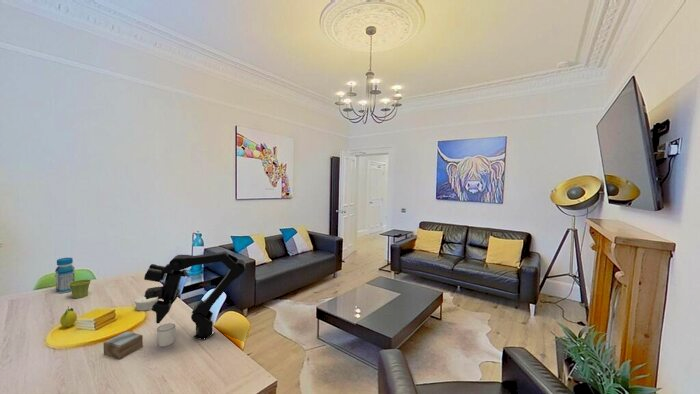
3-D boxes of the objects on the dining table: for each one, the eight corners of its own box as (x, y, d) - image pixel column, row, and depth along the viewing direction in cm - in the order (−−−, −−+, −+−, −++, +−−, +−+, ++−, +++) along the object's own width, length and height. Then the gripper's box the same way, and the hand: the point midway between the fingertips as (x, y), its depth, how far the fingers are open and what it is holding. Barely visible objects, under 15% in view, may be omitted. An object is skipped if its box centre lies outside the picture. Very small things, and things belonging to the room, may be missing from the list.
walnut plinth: (142, 346, 117) (142, 334, 117) (119, 359, 108) (119, 346, 108) (127, 342, 119) (127, 330, 119) (103, 354, 111) (103, 341, 110)
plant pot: (93, 295, 163) (93, 281, 162) (71, 301, 155) (71, 286, 154) (88, 291, 168) (88, 278, 167) (66, 297, 160) (66, 282, 159)
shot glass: (166, 348, 116) (166, 332, 116) (152, 345, 118) (152, 330, 117) (179, 339, 123) (179, 324, 123) (166, 337, 124) (166, 322, 124)
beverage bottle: (65, 293, 164) (64, 261, 163) (51, 293, 164) (50, 260, 163) (79, 288, 172) (78, 257, 171) (66, 287, 172) (65, 256, 171)
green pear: (65, 331, 126) (64, 310, 125) (55, 329, 127) (54, 308, 126) (82, 324, 132) (81, 303, 132) (72, 322, 134) (72, 302, 133)
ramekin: (130, 309, 148) (129, 299, 148) (151, 301, 159) (151, 292, 158) (143, 313, 144) (143, 304, 144) (164, 305, 155) (164, 296, 154)
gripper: (157, 273, 127) (147, 305, 127) (142, 289, 109) (131, 327, 109) (184, 277, 131) (174, 309, 130) (174, 293, 113) (162, 329, 113)
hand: (161, 317), depth 121 cm, fingers open, 9 cm apart
